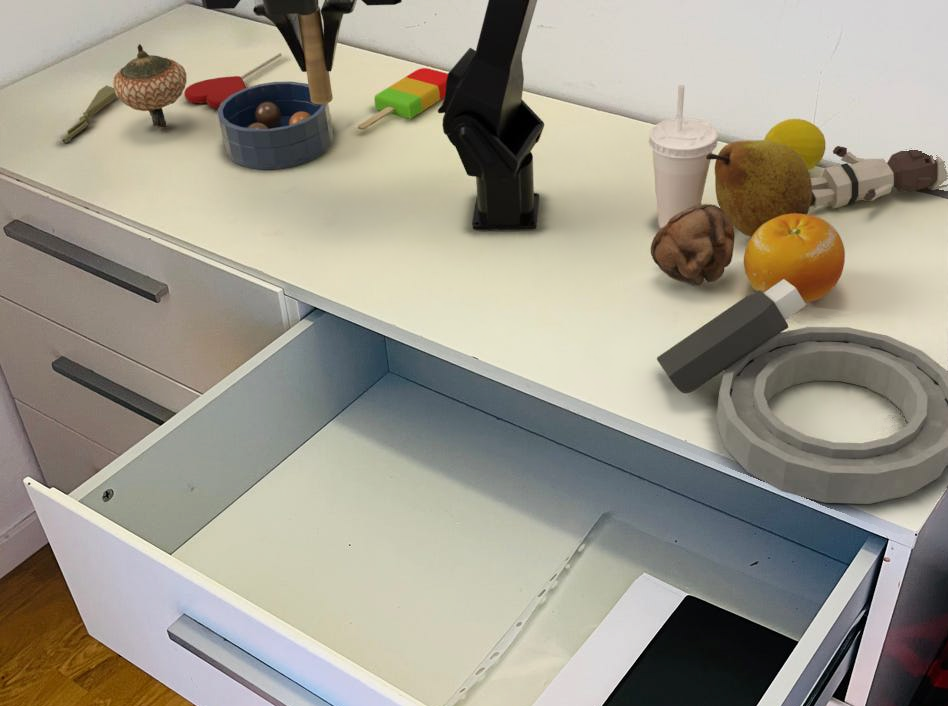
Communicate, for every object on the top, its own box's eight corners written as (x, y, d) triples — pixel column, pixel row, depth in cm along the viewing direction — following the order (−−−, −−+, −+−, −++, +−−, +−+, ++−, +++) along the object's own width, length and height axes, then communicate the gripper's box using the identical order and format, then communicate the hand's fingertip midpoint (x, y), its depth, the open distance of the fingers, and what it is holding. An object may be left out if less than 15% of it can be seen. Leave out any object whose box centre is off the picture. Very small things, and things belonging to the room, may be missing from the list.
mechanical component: (701, 484, 89) (704, 454, 87) (734, 344, 101) (737, 315, 99) (953, 521, 84) (962, 491, 82) (955, 369, 97) (963, 340, 95)
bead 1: (280, 133, 133) (276, 108, 131) (255, 134, 134) (250, 109, 132) (286, 121, 136) (281, 96, 134) (260, 121, 136) (255, 97, 134)
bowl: (322, 169, 128) (316, 130, 125) (214, 170, 129) (205, 132, 126) (341, 117, 137) (335, 80, 134) (239, 119, 138) (232, 82, 135)
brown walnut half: (676, 256, 101) (651, 216, 104) (669, 311, 108) (645, 273, 110) (756, 228, 102) (729, 190, 104) (743, 285, 109) (719, 247, 111)
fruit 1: (753, 185, 120) (814, 184, 124) (786, 157, 115) (849, 157, 119) (740, 137, 121) (801, 137, 125) (772, 107, 116) (834, 108, 120)
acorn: (211, 122, 138) (192, 38, 131) (159, 151, 133) (136, 66, 126) (164, 106, 142) (143, 23, 135) (112, 134, 137) (87, 50, 130)
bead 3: (315, 144, 131) (311, 118, 129) (289, 144, 131) (284, 119, 129) (320, 131, 133) (316, 106, 131) (294, 131, 134) (289, 106, 132)
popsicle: (458, 89, 140) (457, 74, 139) (379, 141, 132) (377, 125, 131) (422, 79, 143) (421, 65, 142) (342, 129, 135) (340, 114, 133)
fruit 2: (805, 165, 115) (746, 78, 108) (839, 211, 109) (778, 123, 102) (732, 219, 119) (669, 139, 111) (760, 268, 112) (696, 186, 105)
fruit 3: (713, 245, 106) (772, 189, 100) (777, 247, 111) (837, 193, 104) (750, 325, 103) (812, 272, 97) (814, 323, 108) (877, 273, 102)
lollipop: (256, 52, 151) (177, 99, 142) (255, 45, 151) (175, 92, 142) (305, 63, 148) (227, 112, 139) (304, 56, 147) (226, 105, 138)
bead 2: (271, 155, 130) (266, 130, 128) (244, 156, 130) (239, 130, 128) (276, 142, 132) (271, 117, 130) (250, 143, 132) (245, 118, 130)
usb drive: (668, 376, 93) (686, 402, 94) (798, 288, 91) (814, 316, 92) (655, 358, 98) (672, 383, 99) (778, 273, 96) (794, 300, 97)
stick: (330, 104, 116) (318, 13, 110) (309, 104, 117) (295, 13, 110) (334, 94, 118) (321, 4, 112) (312, 95, 118) (299, 4, 112)
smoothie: (667, 201, 119) (675, 67, 109) (722, 219, 116) (736, 83, 106) (632, 229, 116) (637, 92, 106) (687, 248, 113) (698, 110, 103)
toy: (785, 152, 117) (929, 118, 117) (781, 190, 120) (920, 158, 121) (817, 203, 112) (967, 167, 112) (811, 241, 116) (956, 207, 116)
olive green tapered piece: (107, 91, 144) (106, 84, 144) (129, 99, 144) (128, 92, 143) (44, 136, 137) (43, 130, 136) (68, 145, 136) (66, 138, 135)
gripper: (167, -66, 99) (206, 109, 110) (384, -72, 98) (402, 106, 109) (197, -109, 107) (231, 58, 118) (399, -115, 106) (414, 55, 117)
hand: (317, 70), depth 115 cm, fingers closed on stick, 2 cm apart
